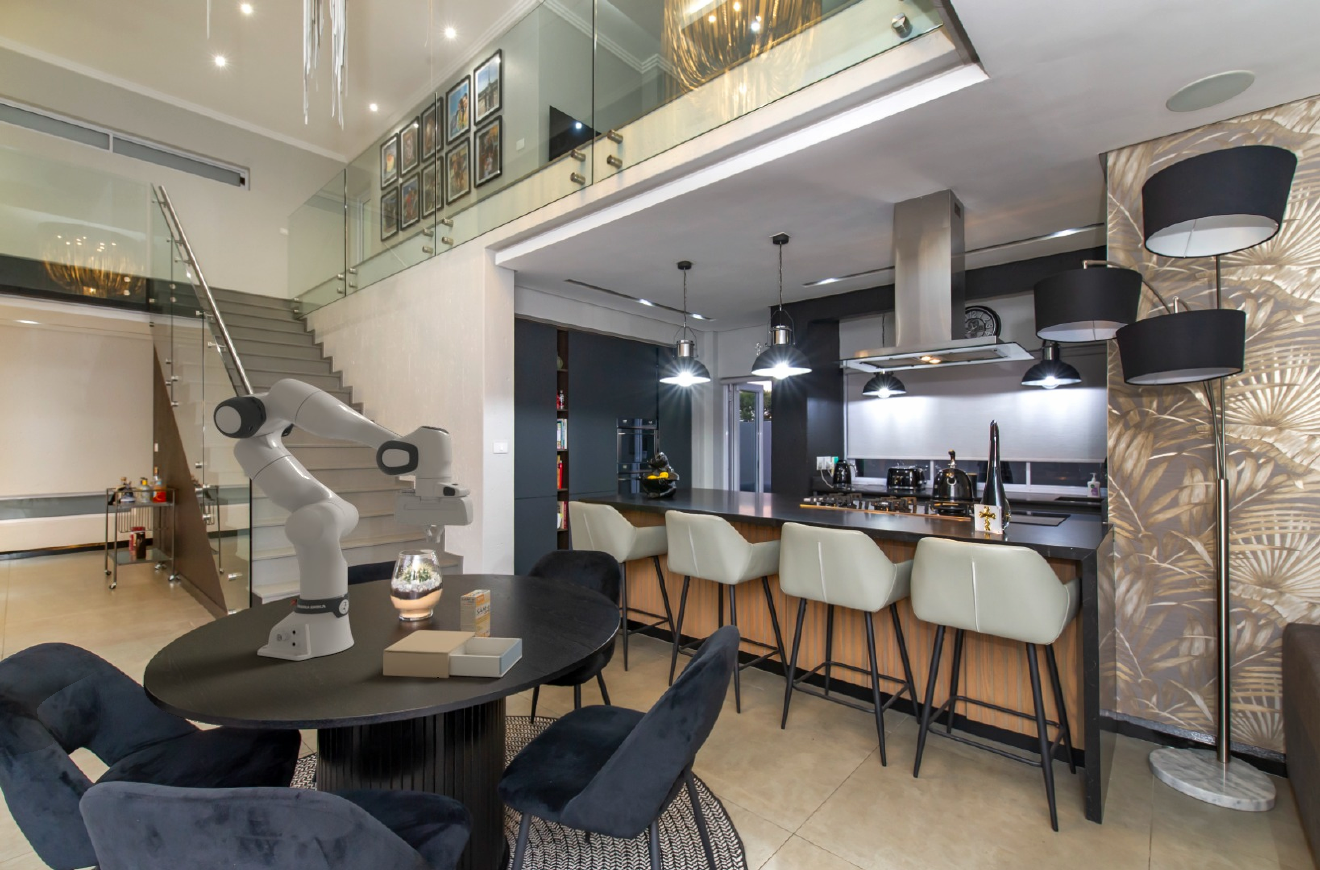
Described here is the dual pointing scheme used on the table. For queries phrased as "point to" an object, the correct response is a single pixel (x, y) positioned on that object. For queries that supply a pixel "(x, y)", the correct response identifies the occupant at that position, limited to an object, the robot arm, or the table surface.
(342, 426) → the robot arm
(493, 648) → the tray
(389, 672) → the mailer sleeve
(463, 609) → the supplement box
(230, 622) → the table surface
